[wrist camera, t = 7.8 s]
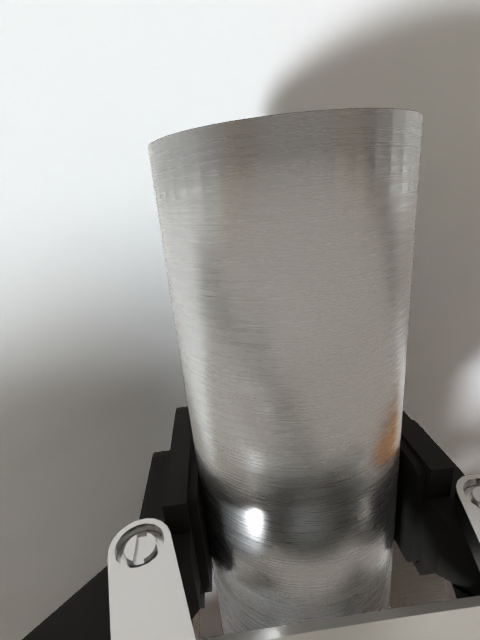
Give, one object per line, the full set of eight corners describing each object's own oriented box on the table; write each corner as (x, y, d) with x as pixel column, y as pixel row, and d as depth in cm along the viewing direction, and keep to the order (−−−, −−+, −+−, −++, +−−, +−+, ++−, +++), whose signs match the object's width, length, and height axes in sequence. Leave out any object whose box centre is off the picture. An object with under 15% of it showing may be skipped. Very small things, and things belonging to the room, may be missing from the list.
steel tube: (166, 160, 9) (116, 127, 5) (359, 143, 10) (499, 94, 5) (244, 710, 17) (254, 904, 13) (348, 697, 17) (397, 883, 13)
